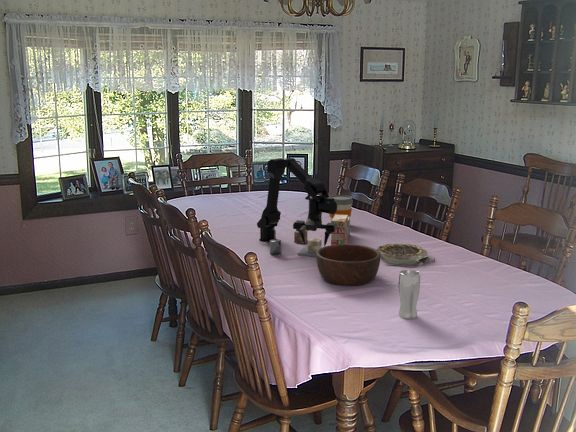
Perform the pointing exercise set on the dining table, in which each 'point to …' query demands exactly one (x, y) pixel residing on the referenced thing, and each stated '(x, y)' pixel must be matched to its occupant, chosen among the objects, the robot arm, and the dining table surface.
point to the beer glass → (409, 293)
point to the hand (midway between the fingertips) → (314, 244)
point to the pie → (403, 254)
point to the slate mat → (306, 253)
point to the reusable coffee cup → (342, 205)
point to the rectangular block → (298, 237)
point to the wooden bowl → (348, 264)
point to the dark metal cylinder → (275, 247)
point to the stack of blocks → (340, 229)
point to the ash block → (314, 244)
